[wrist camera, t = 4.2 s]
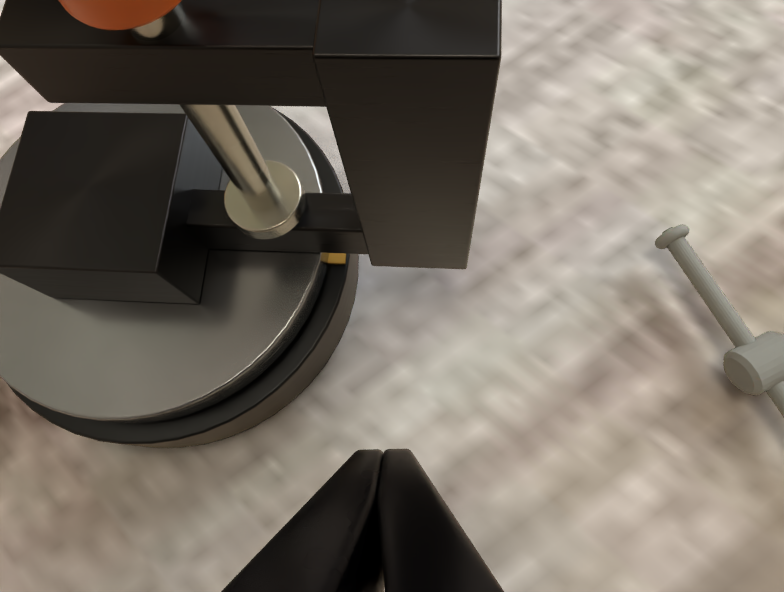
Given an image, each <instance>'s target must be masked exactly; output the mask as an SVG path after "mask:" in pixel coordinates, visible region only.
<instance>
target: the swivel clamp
mask: <svg viewBox="0 0 784 592" xmlns="http://www.w3.org/2000/svg"><path fill="white" fill-rule="evenodd" d="M501 26H502V0H6V1H5V4H4V7H3V10H2V13H1V16H0V56H1V57H2V58H3V59H4V60H6V61H7V62H8V63H9V64H10V65H11V66H12V67H13V68H14V69H15V70H16V71H17V72H18V73H19V74H20V75H21V76H22V77H23V78H24V79H25V80H26V81H27V82H28V83H29V84H30V85H31V86H32V87H33V88H34V89H35V90H36V91H37V92H38V93H39V94H40V95H41V96H42V97H43V98H44V99H46V100H47V101H48V102H50V103H64V104H62V105H61V106H59V107H58V108H56V109H55V110H53V111H29V112H28V114H27V117H26V121H25V124H24V128H23V131H22V135H21V137H20V138H19V139H18V140H17V141H16V142H15V143H14V144H13V145H12V146H11V147H10V148H9V149H8V150H7V152H6V153H5V154H4V155H3V156H2V158H1V159H0V377H1V378H2V379H3V380H4V381H5V382H6V383H8V384H9V385H10V386H11V387H12V388H13V389H15V390H16V391H18V392H19V393H21V394H22V395H24V396H25V397H27V398H28V399H30V400H31V401H34V402H36V403H38V404H40V405H42V406H44V407H47V408H49V409H51V410H53V411H57V412H60V413H64V414H67V415H71V416H74V417H79V418H85V419H91V420H97V421H105V422H112V423H149V422H156V421H163V420H170V419H173V418H177V417H180V416H184V415H188V414H191V413H194V412H197V411H199V410H202V409H204V408H206V407H209V406H211V405H213V404H216V403H218V402H220V401H222V400H223V399H225V398H227V397H228V396H230V395H232V394H234V393H235V392H237V391H239V390H241V389H242V388H243V387H245V386H246V385H247V384H249V383H250V382H251V381H253V380H254V379H255V378H257V377H258V376H259V375H261V374H262V373H263V372H264V371H265V370H266V369H267V368H268V367H269V366H270V365H271V364H272V363H273V362H274V361H275V360H276V359H277V358H278V357H279V356H280V355H281V354H282V353H283V352H284V350H285V349H286V348H287V347H288V346H289V344H290V343H291V342H292V341H293V339H294V338H295V337H296V335H297V334H298V332H299V331H300V329H301V327H302V326H303V324H304V323H305V321H306V320H307V318H308V316H309V314H310V312H311V310H312V308H313V306H314V304H315V302H316V299H317V297H318V295H319V293H320V289H321V286H322V283H323V280H324V277H325V273H326V269H327V264H328V258H329V253H348V254H369V257H370V261H371V264H372V265H373V266H391V267H418V268H445V269H466V268H467V262H468V256H469V250H470V244H471V238H472V232H473V226H474V220H475V213H476V207H477V201H478V195H479V189H480V183H481V177H482V171H483V165H484V159H485V153H486V147H487V141H488V135H489V128H490V122H491V116H492V110H493V104H494V98H495V92H496V86H497V80H498V74H499V68H500V62H501ZM271 106H320V107H327V110H328V114H329V117H330V121H331V124H332V128H333V131H334V135H335V138H336V142H337V145H338V149H339V152H340V156H341V159H342V163H343V166H344V170H345V173H346V177H347V180H348V184H349V187H350V191H351V194H346V193H325V191H324V187H323V184H322V182H321V179H320V176H319V174H318V171H317V169H316V166H315V164H314V162H313V159H312V157H311V155H310V152H309V151H308V149H307V147H306V146H305V144H304V143H303V141H302V139H301V138H300V136H299V135H298V133H297V132H296V131H295V130H294V129H293V127H292V126H291V125H290V124H289V123H288V122H287V120H286V119H285V118H284V117H283V116H281V115H280V114H279V113H278V112H277V111H276V110H275V109H273V108H272V107H271Z"/></svg>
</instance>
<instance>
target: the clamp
mask: <svg viewBox="0 0 784 592" xmlns="http://www.w3.org/2000/svg"><path fill="white" fill-rule="evenodd" d="M688 233H689V228H688V226H686V225H678V226H676V227H674V228H673V227H671V228H669V229H667V230H666V231H664V232H663V233H662V235H661V236H659V237H658V238H657V239H656V241H655V245H656V247H657V248H659V249H664V248H668V249H669V251H670V252H671V254H672V255H673V257H674V258H675V259H676V261H677V262H678V264H679V265H680V267H681V268H682V270H683V271H684V273H685V274H686V275H687V277H688V278H689V280H690V281H691V283H692V284H693V286H694V287H695V289H696V290H697V292H698V293H699V294H700V296H701V297H702V299H703V300H704V302H705V303H706V305H707V306H708V308H709V309H710V310H711V312H712V313H713V315H714V316H715V318H716V319H717V321H718V322H719V324H720V325H721V327H722V328H723V329H724V331H725V332H726V334H727V335H728V337H729V338H730V340H731V341H732V343H733V344H734V345H735V347H736V348H734V349H732V350H731V351H729V352H727V353H726V354H725V356H724V362H723V366H724V370H725V372H726V375H727V376H728V378H729V379H730V381H731V382H732V383H733V384H734V385H735V386H736V387H737V388H738V389H739V390H741V391H743V392H745V393H748V394H751V395H759V394H761V393H763V392H765V391H766V392H767V394H768V395H769V397H770V398H771V399H772V401H773V402H774V404H775V405H776V407H777V408H778V410H779V411H780V413H781V414H782V415H783V417H784V335H781V334H779V333H777V332H773V331H769V332H765V333H763V334H762V335H760V336H758V337H756V338H755V337H754V336H753V335H752V333H751V332H750V330H749V329H748V327H747V326H746V325H745V323H744V322H743V320H742V319H741V317H740V316H739V315H738V313H737V312H736V310H735V309H734V307H733V306H732V305H731V303H730V302H729V300H728V299H727V297H726V296H725V295H724V293H723V292H722V290H721V289H720V287H719V286H718V285H717V283H716V282H715V280H714V279H713V277H712V276H711V275H710V273H709V272H708V270H707V269H706V267H705V266H704V265H703V263H702V262H701V260H700V259H699V257H698V256H697V255H696V253H695V252H694V250H693V249H692V247H691V246H690V245H689V243H688V242H687V240H686V239H685V236H686V235H687V234H688Z"/></svg>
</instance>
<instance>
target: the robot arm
mask: <svg viewBox="0 0 784 592" xmlns="http://www.w3.org/2000/svg"><path fill="white" fill-rule="evenodd" d="M384 588H385V592H504V591H503V590H502V588H501V586H500V585H499V583H498V582H497V580H496V579H495V577H494V576H493V574H492V573H491V571H490V570H489V568H488V567H487V565H486V564H485V562H484V561H483V559H482V558H481V556H480V555H479V553H478V552H477V550H476V549H475V547H474V546H473V544H472V543H471V541H470V540H469V538H468V536H467V535H466V533H465V532H464V530H463V529H462V527H461V526H460V524H459V523H458V521H457V520H456V518H455V517H454V515H453V514H452V512H451V511H450V509H449V508H448V506H447V505H446V503H445V502H444V500H443V499H442V497H441V496H440V494H439V493H438V491H437V490H436V488H435V486H434V485H433V483H432V482H431V480H430V479H429V477H428V476H427V474H426V473H425V471H424V470H423V468H422V467H421V465H420V464H419V462H418V461H417V459H416V458H415V456H414V455H413V453H412V452H411V451H410V450H409V449H387V450H386V451H384V453H383V452H382V451H381V450H379V449H374V450H358V451H356V452H355V453H354V454H353V455H352V456H351V457H350V458H349V459H348V460H347V461H346V462H345V463H344V464H343V465H342V466H341V467H340V468H339V469H338V471H337V472H336V473H335V474H334V475H333V476H332V477H331V478H330V479H329V480H328V481H327V482H326V483H325V484H324V485H323V486H322V487H321V488H320V489H319V490H318V491H317V492H316V493H315V494H314V496H313V497H312V498H311V499H310V500H309V501H308V502H307V503H306V504H305V505H304V506H303V507H302V508H301V509H300V510H299V511H298V512H297V513H296V514H295V515H294V516H293V517H292V518H291V519H290V520H289V522H288V523H287V524H286V525H285V526H284V527H283V528H282V529H281V530H280V531H279V532H278V533H277V534H276V535H275V536H274V537H273V538H272V539H271V540H270V541H269V542H268V543H267V544H266V545H265V547H264V548H263V549H262V550H261V551H260V552H259V553H258V554H257V555H256V556H255V557H254V558H253V559H252V560H251V561H250V562H249V563H248V564H247V565H246V566H245V567H244V568H243V569H242V570H241V572H240V573H239V574H238V575H237V576H236V577H235V578H234V579H233V580H232V581H231V582H230V583H229V584H228V585H227V586H226V587H225V588H224V589H223V590H222V591H221V592H384Z"/></svg>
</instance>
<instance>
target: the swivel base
mask: <svg viewBox="0 0 784 592" xmlns="http://www.w3.org/2000/svg"><path fill="white" fill-rule="evenodd" d="M273 109H274V108H273ZM275 110H276V109H275ZM276 111H277V110H276ZM277 112H278V113H279V114H280V115H281V116H283V117H284V118H285V119H286V120H287V122H288V123H289V124H290V125H291V126H292V127H293V129H294V130H295V131H296V132H297V133H298V135H299V136H300V138H301V139H302V141H303V143H304V144H305V146H306V147H307V149H308V151H309V152H310V155H311V157H312V159H313V162H314V164H315V166H316V169H317V171H318V174H319V176H320V179H321V182H322V184H323V187H324V191H325V193H343V189H342V187H341V184H340V182H339V180H338V178H337V175H336V173H335V171H334V169H333V167H332V165H331V164H330V162H329V161H328V159H327V157H326V156H325V154H324V153H323V151H322V150H321V148H320V147H319V146H318V145H317V144H316V143H315V141H314V140H313V139H312V138H311V137H310V136H309V134H307V133H306V132H305V131H304V130H303V129H302V128H301V127H299V126H298V125H297V124H296V123H295V122H294V121H292V120H291V119H289V118H288V117H286V116H285V115H283V114H282V113H280V112H279V111H277ZM358 257H359V256H358V254H348V253H329V258H328V264H327V269H326V273H325V277H324V280H323V283H322V286H321V289H320V293H319V295H318V297H317V299H316V302H315V304H314V306H313V308H312V310H311V312H310V314H309V316H308V318H307V320H306V321H305V323H304V324H303V326H302V327H301V329H300V331H299V332H298V334H297V335H296V337H295V338H294V339H293V341H292V342H291V343H290V344H289V346H288V347H287V348H286V349H285V350H284V352H283V353H282V354H281V355H280V356H279V357H278V358H277V359H276V360H275V361H274V362H273V363H272V364H271V365H270V366H269V367H268V368H267V369H266V370H265V371H264V372H263V373H262V374H261V375H259V376H258V377H257V378H255V379H254V380H253V381H251V382H250V383H249V384H247V385H246V386H245V387H243V388H242V389H241V390H239V391H237V392H235V393H234V394H232V395H230V396H228V397H227V398H225V399H223V400H222V401H220V402H218V403H216V404H213V405H211V406H209V407H206V408H204V409H202V410H199V411H197V412H194V413H191V414H188V415H184V416H180V417H177V418H173V419H170V420H163V421H156V422H149V423H112V422H105V421H97V420H91V419H85V418H79V417H74V416H71V415H67V414H64V413H60V412H57V411H53V410H51V409H49V408H47V407H44V406H42V405H40V404H38V403H36V402H34V401H31V400H30V399H28V398H27V397H25V396H24V395H22V394H21V393H19V392H18V391H16V390H15V389H13V388H12V387H11V386H10V385H9V384H8V383H7V384H8V385H9V387H10V388H11V389H12V390H13V392H14V393H15V394H16V395H17V396H18V397H19V398H20V399H21V400H22V401H23V402H24V403H25V404H26V405H28V406H29V407H30V408H31V409H32V410H33V411H35V412H36V413H38V414H39V415H40V416H42V417H43V418H45V419H46V420H48V421H49V422H51V423H52V424H55V425H57V426H59V427H61V428H63V429H65V430H67V431H70V432H72V433H74V434H77V435H80V436H84V437H87V438H91V439H94V440H97V441H103V442H110V443H118V444H125V445H135V446H144V447H154V448H181V447H188V446H195V445H202V444H207V443H211V442H214V441H218V440H221V439H225V438H228V437H231V436H233V435H236V434H238V433H240V432H243V431H245V430H247V429H250V428H252V427H254V426H255V425H257V424H259V423H260V422H262V421H264V420H266V419H267V418H269V417H271V416H272V415H274V414H275V413H277V412H278V411H279V410H280V409H282V408H283V407H284V406H286V405H287V404H288V403H290V402H291V401H292V400H294V399H295V398H296V397H297V396H298V395H299V394H300V393H301V392H302V391H303V390H304V389H305V388H306V387H307V386H308V385H309V384H310V383H311V382H312V380H313V379H314V378H315V377H316V375H317V374H318V373H319V372H320V370H321V369H322V368H323V367H324V365H325V364H326V363H327V361H328V359H329V358H330V356H331V354H332V353H333V351H334V350H335V348H336V346H337V345H338V343H339V341H340V339H341V336H342V334H343V332H344V330H345V327H346V325H347V323H348V320H349V317H350V314H351V310H352V307H353V303H354V300H355V294H356V288H357V281H358Z"/></svg>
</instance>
